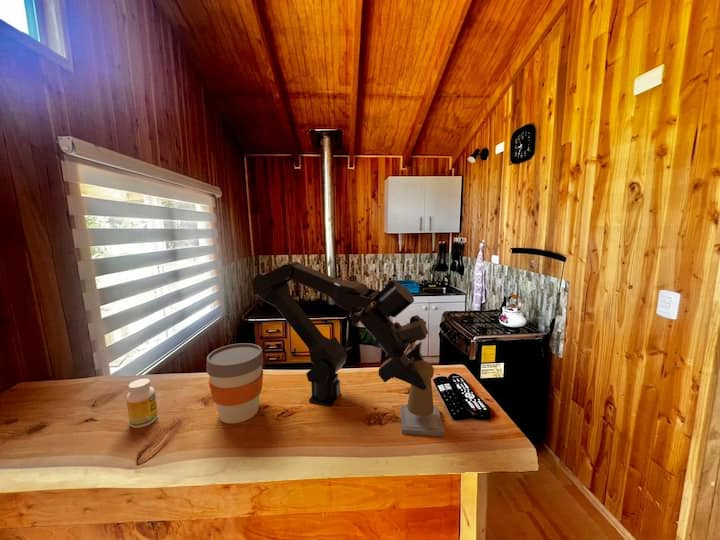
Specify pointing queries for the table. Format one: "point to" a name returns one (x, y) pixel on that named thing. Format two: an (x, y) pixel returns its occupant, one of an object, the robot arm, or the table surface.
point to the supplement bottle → (141, 403)
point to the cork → (422, 391)
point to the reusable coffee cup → (236, 380)
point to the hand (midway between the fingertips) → (427, 382)
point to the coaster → (421, 423)
